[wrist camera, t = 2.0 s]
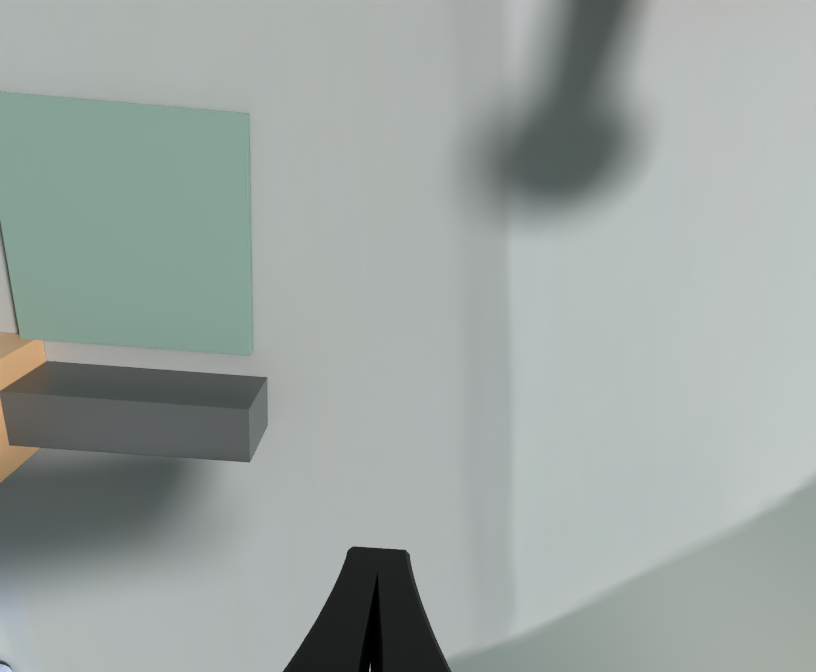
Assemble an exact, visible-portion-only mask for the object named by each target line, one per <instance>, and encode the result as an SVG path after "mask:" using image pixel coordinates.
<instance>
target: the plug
mask: <svg viewBox="0 0 816 672" xmlns="http://www.w3.org/2000/svg"><path fill="white" fill-rule="evenodd" d="M266 428H267V378H265V377H252V376H238V375H225V374H211V373H198V372H184V371H171V370H157V369H143V368H130V367H116V366H103V365H89V364H76V363H62V362H49V361H46V356H45V350H44V343H43V340H33V339H20V334H15V333H1V332H0V483H1V482H2V481H3V480H4V479H5V478H7V477H8V476H9V475H10V474H11V473H12V472H14V471H15V470H16V469H17V468H18V467H19V466H20V465H22V464H23V463H24V462H25V461H26V460H27V459H29V458H30V457H31V456H32V455H33V454H34V453H36V452H37V451H38V450H39V449H40V448H52V449H67V450H81V451H95V452H110V453H124V454H138V455H153V456H167V457H181V458H195V459H210V460H224V461H238V462H250V461H251V459H252V457H253V455H254V453H255V451H256V449H257V446H258V444H259V442H260V440H261V438H262V436H263V434H264V432H265V430H266Z"/></svg>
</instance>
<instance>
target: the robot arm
mask: <svg viewBox="0 0 816 672" xmlns="http://www.w3.org/2000/svg"><path fill="white" fill-rule="evenodd" d="M370 662H371V672H451V670H450V668H449V666H448V664H447V662H446V660H445V658H444V655H443V653H442V651H441V649H440V647H439V645H438V642H437V640H436V638H435V635H434V633H433V631H432V628H431V626H430V623H429V620H428V618H427V615H426V613H425V610H424V607H423V605H422V602H421V599H420V596H419V593H418V589H417V586H416V583H415V579H414V575H413V571H412V567H411V562H410V554H409V553H408V552H407V551H406V550H398V549H382V548H367V547H352V548H350V549H349V550H348V552H347V556H346V559H345V562H344V565H343V567H342V570H341V572H340V575H339V577H338V579H337V581H336V583H335V586H334V588H333V590H332V592H331V594H330V596H329V598H328V599H327V601H326V603H325V605H324V607H323V609H322V611H321V612H320V614H319V616H318V618H317V620H316V621H315V623H314V625H313V626H312V628H311V630H310V631H309V633H308V634H307V636H306V638H305V639H304V641H303V642H302V644H301V646H300V647H299V649H298V650H297V652H296V653H295V655H294V656H293V658H292V659H291V661H290V662H289V664H288V665H287V667H286V668H285V669H284V671H283V672H369V668H370ZM0 672H12V670H11V669H10V668H9V667H8V666H6V665H3V664H0Z"/></svg>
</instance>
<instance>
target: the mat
mask: <svg viewBox="0 0 816 672" xmlns="http://www.w3.org/2000/svg"><path fill="white" fill-rule="evenodd" d="M0 222H1V228H2V234H3V240H4V246H5V251H6V257H7V263H8V269H9V275H10V281H11V287H12V293H13V299H14V305H15V310H16V316H17V322H18V328H19V334H20V339H33V340H46V341H60V342H73V343H87V344H100V345H114V346H127V347H141V348H155V349H168V350H182V351H195V352H209V353H222V354H236V355H249V356H250V355H251V353H252V352H253V322H252V260H251V198H250V137H249V113H239V112H227V111H216V110H204V109H192V108H181V107H169V106H158V105H146V104H134V103H123V102H111V101H100V100H88V99H76V98H65V97H53V96H42V95H30V94H18V93H7V92H0Z"/></svg>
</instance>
